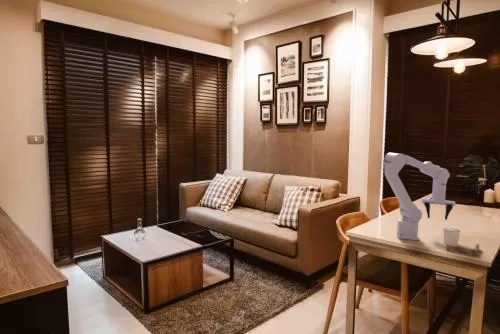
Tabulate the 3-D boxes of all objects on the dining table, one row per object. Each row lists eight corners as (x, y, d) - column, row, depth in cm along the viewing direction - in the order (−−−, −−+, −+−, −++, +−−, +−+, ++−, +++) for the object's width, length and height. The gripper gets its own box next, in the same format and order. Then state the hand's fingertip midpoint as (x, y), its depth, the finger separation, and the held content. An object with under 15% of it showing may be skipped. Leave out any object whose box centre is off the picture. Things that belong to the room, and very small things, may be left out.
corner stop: (493, 256, 143) (494, 250, 143) (459, 257, 142) (459, 251, 142) (477, 248, 152) (478, 243, 152) (445, 249, 151) (445, 244, 151)
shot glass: (457, 247, 154) (458, 232, 153) (440, 244, 159) (441, 229, 158) (460, 243, 159) (461, 229, 158) (444, 240, 164) (445, 226, 163)
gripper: (423, 192, 167) (421, 218, 168) (457, 194, 161) (455, 222, 162) (422, 189, 173) (420, 215, 174) (454, 191, 167) (452, 218, 169)
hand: (437, 218), depth 169 cm, fingers open, 7 cm apart
